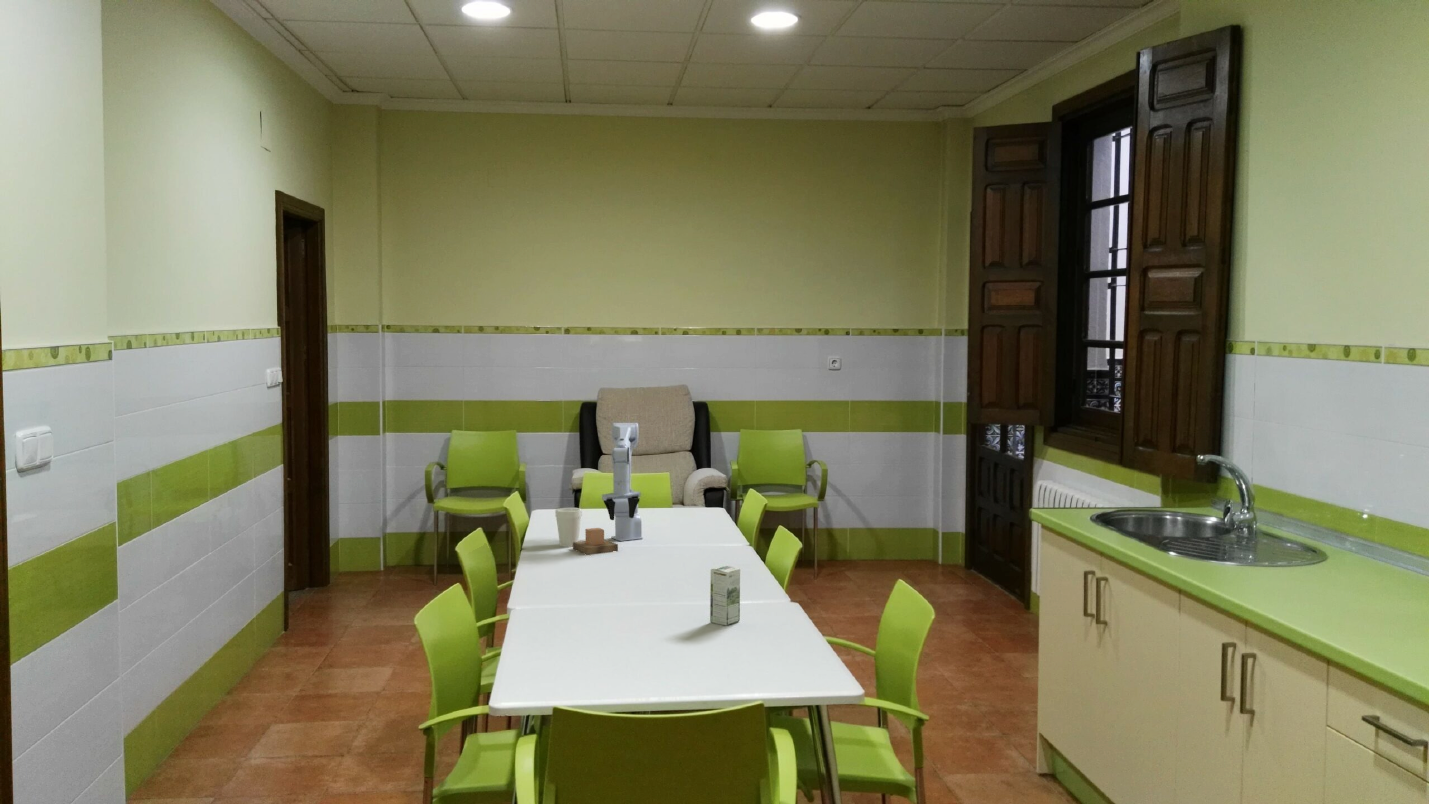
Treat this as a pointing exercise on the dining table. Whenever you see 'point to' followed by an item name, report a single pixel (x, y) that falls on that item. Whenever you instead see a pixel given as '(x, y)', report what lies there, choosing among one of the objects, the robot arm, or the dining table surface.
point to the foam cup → (568, 525)
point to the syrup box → (725, 595)
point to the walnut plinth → (595, 547)
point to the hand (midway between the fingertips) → (621, 518)
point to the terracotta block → (594, 536)
